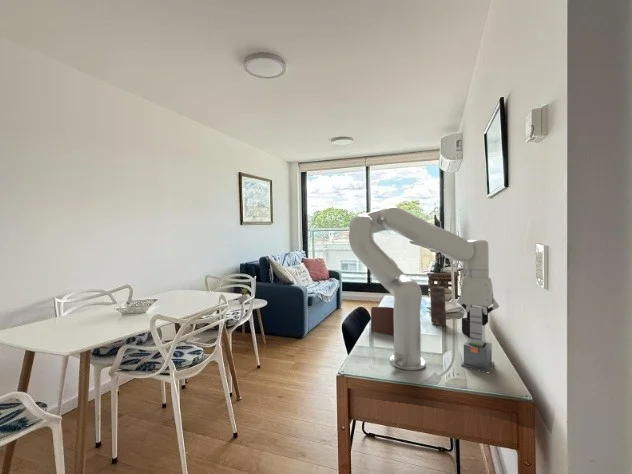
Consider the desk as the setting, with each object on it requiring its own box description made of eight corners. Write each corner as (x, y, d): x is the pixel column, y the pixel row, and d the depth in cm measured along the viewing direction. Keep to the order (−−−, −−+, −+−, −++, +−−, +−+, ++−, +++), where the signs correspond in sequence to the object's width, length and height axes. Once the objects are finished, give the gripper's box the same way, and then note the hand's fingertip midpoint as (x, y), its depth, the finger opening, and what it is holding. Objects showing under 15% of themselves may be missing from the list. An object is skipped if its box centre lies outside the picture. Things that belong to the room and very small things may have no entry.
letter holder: (411, 341, 142) (411, 310, 142) (370, 334, 153) (370, 305, 153) (417, 335, 151) (417, 305, 150) (378, 328, 162) (377, 301, 161)
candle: (428, 324, 167) (427, 286, 167) (435, 321, 172) (434, 284, 171) (442, 327, 161) (441, 288, 161) (448, 324, 166) (448, 286, 166)
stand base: (488, 373, 109) (488, 350, 109) (460, 366, 115) (460, 345, 115) (494, 364, 116) (494, 343, 116) (468, 358, 122) (467, 338, 122)
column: (482, 348, 113) (482, 309, 112) (469, 345, 115) (469, 307, 115) (485, 344, 116) (485, 306, 116) (472, 341, 119) (472, 304, 118)
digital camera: (484, 338, 143) (484, 323, 143) (472, 339, 144) (471, 323, 143) (473, 331, 154) (472, 317, 154) (461, 331, 154) (461, 317, 154)
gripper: (449, 273, 118) (450, 321, 118) (501, 276, 107) (501, 330, 107) (456, 270, 123) (456, 317, 124) (505, 274, 113) (505, 325, 113)
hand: (477, 322), depth 116 cm, fingers closed on column, 4 cm apart
